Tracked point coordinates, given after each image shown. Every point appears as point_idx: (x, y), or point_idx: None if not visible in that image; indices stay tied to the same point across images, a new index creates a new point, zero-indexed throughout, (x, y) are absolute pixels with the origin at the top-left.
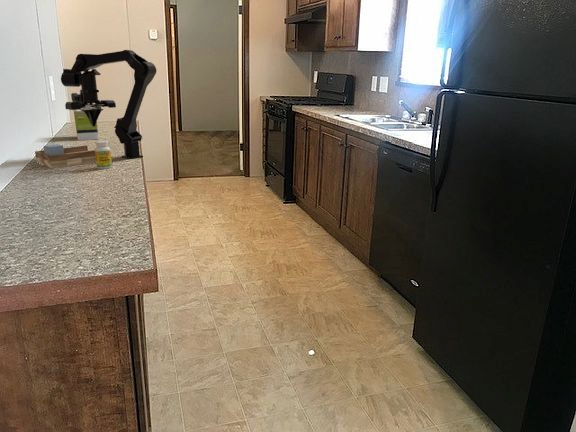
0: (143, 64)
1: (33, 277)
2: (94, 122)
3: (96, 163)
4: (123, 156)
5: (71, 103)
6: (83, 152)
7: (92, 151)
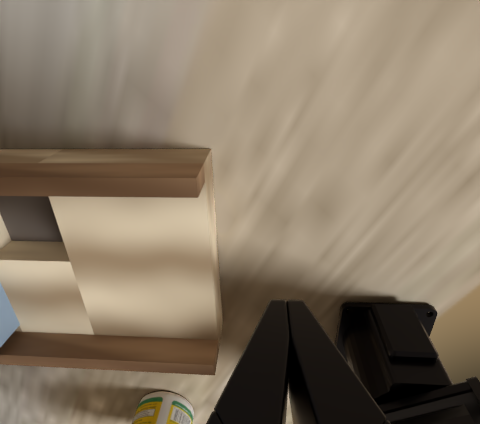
0: None
1: None
2: (290, 400)
3: (133, 419)
4: (339, 326)
5: None
6: (100, 367)
7: (151, 370)
